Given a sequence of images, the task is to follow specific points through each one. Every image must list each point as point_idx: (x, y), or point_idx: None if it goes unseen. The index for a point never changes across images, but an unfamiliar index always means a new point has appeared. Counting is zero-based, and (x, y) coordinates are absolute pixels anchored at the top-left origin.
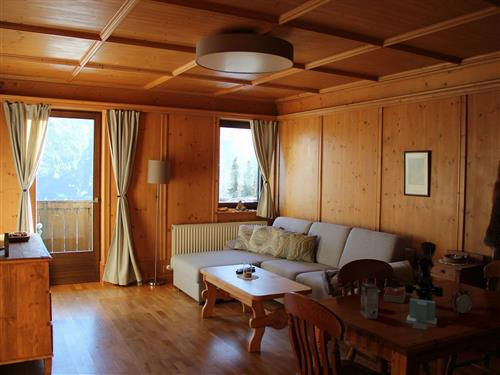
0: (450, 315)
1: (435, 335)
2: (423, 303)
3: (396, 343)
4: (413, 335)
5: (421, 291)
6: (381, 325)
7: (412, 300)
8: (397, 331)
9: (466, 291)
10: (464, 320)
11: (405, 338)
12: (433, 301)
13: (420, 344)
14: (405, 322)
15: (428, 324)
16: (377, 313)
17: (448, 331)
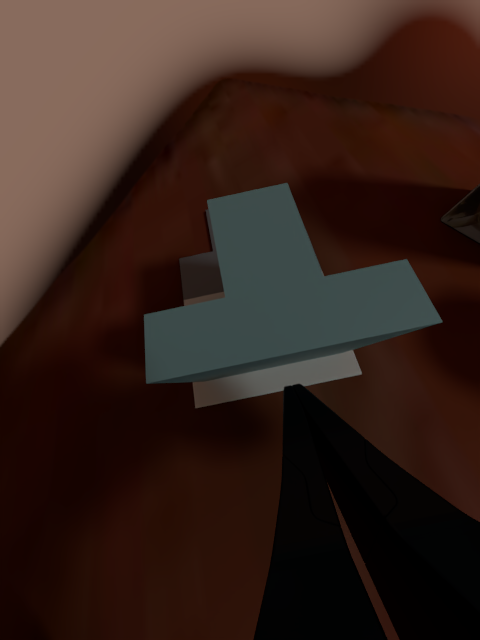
0: (124, 574)
1: (169, 185)
2: (240, 225)
3: (253, 84)
4: (232, 147)
5: (472, 581)
6: (366, 161)
7: (376, 266)
8: (289, 147)
9: None
10: (43, 489)
11: (245, 118)
12: (165, 367)
13: (197, 109)
14: (307, 234)
15: (213, 270)
16: (465, 197)
17: (130, 247)
